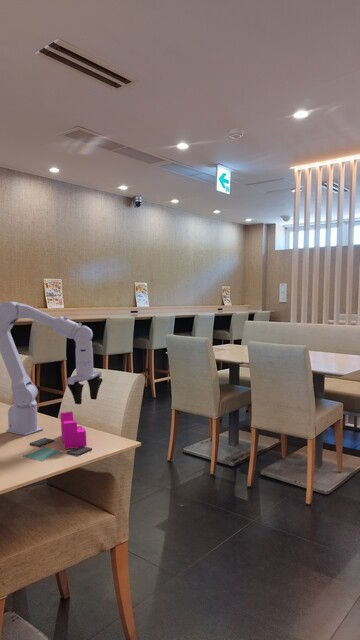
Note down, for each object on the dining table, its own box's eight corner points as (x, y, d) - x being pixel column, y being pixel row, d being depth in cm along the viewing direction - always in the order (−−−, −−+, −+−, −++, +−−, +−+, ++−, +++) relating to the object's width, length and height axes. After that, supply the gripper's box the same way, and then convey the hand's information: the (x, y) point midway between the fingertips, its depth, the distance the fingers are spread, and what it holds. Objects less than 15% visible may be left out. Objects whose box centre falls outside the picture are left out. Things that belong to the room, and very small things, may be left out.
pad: (21, 456, 131) (21, 456, 131) (44, 447, 139) (44, 447, 139) (41, 461, 127) (41, 461, 127) (63, 452, 134) (63, 451, 134)
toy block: (86, 446, 138) (85, 421, 138) (65, 448, 136) (63, 423, 136) (81, 433, 152) (79, 410, 152) (61, 435, 150) (60, 412, 150)
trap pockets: (29, 444, 141) (29, 443, 141) (44, 439, 146) (44, 437, 146) (77, 456, 131) (77, 454, 131) (92, 449, 136) (92, 448, 136)
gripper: (78, 365, 147) (79, 407, 148) (107, 359, 160) (109, 398, 161) (62, 364, 151) (63, 405, 152) (92, 358, 163) (93, 396, 164)
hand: (86, 401), depth 156 cm, fingers open, 7 cm apart
